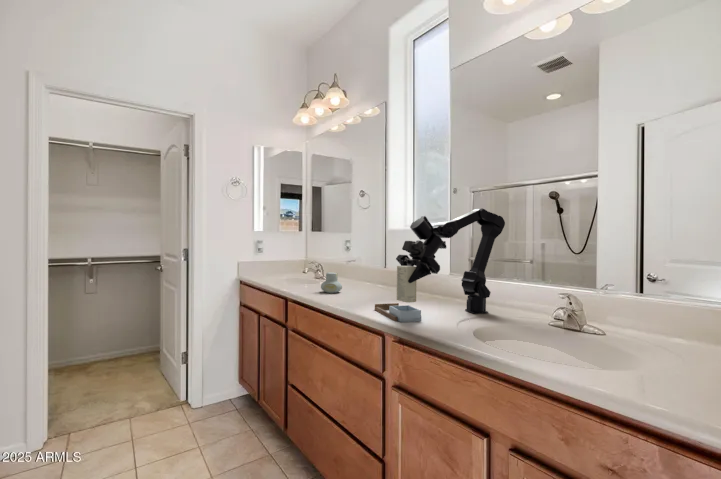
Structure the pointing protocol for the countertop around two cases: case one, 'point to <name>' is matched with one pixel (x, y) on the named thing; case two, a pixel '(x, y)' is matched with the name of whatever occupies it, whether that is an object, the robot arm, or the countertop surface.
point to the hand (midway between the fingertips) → (403, 281)
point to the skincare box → (405, 284)
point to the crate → (405, 313)
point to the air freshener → (331, 283)
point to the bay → (383, 307)
